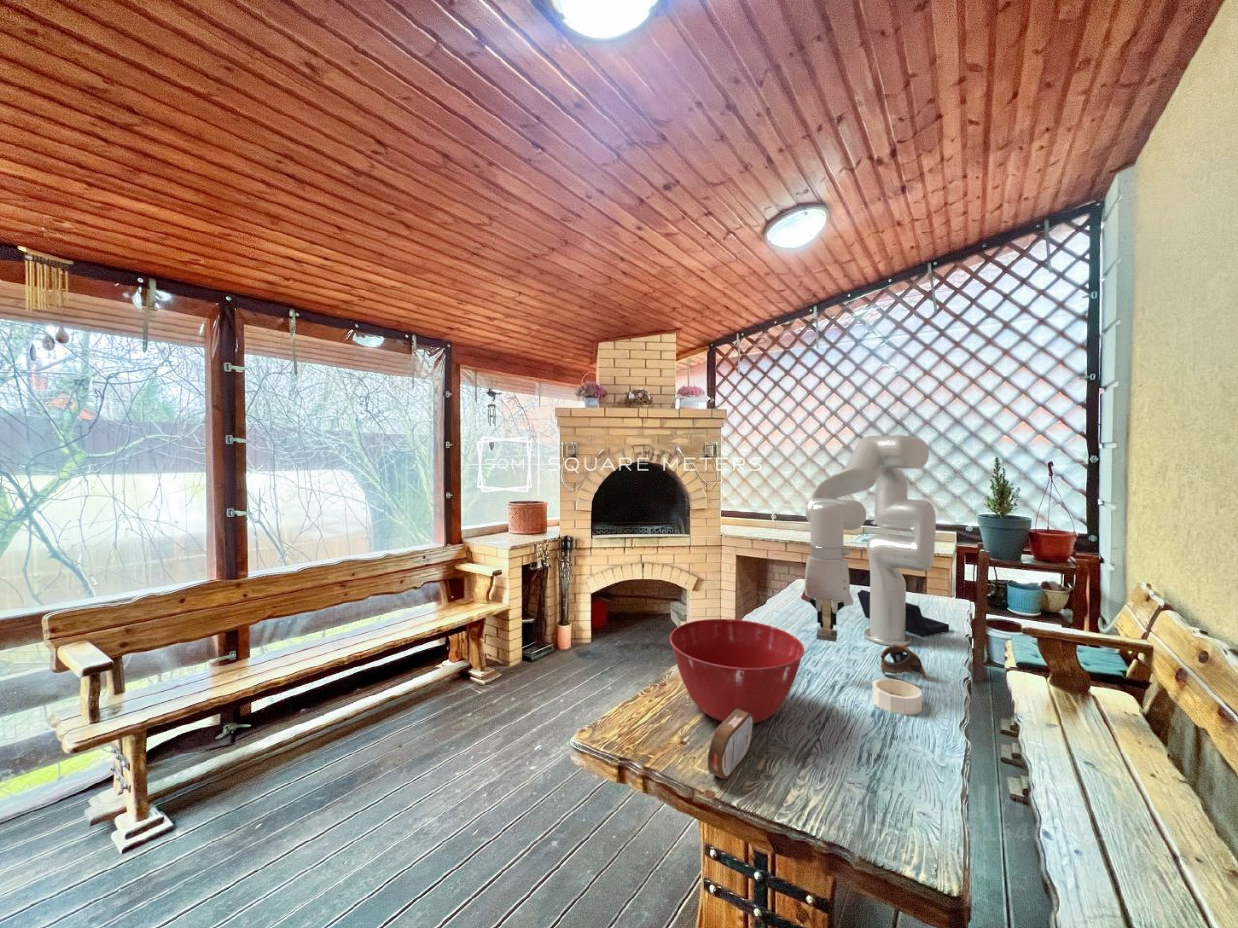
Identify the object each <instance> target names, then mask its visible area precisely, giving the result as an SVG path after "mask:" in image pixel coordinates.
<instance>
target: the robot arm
mask: <svg viewBox="0 0 1238 928" xmlns="http://www.w3.org/2000/svg"><path fill="white" fill-rule="evenodd" d="M929 452H930V451H929V448H928V445H927V443H926V442H925V441H924V440H923V439H921V438H917V437H913V436H910V435H909V436H908V435H905V434H904V435H903V434H902V435H901V434H899V435H898V434H893V435H891V434H889V435H870V436H865V437H863V438H861V439H860V440H859V441H858V442H857V444H856V445H855V448H854V449H853V451H852V453H851V455H850V457H849V459H848V460H847V463H846V464H845V467H844V468H843V469H841V470H840V471H837V472H835V473H833V474H832V475H830V476H828V477H827V478H825V479H824V480H822V481H821V482H819V484H818V485H817V486H816V487H815V488H814V490H813V492H812V494H811V495H810V497H809V499H808V502H807V503H806V506H805V518H806V520H807V522H808V523H809V524H810V545H809V546H810V550H809V551H810V555H807V559H806V565H805V572H804V575H805V576H804V589H803V591H802V594H801V596H800V598H801V600H802V601H805V602H807V603H810V604H811V605H812V607H814V609H815V611H816V613H817V614H816V615H817V616H816V617H817V619H816V620H817V621H816V623H817V624H819V628H822V627H823V621H822V599H828V600H832V608H831V625H830V628H831V629H832V630H834V626H837V614H838V612H839V611H840V610H841V609H844V608H845V607H849V606H853V605H854V600H853V596H852V594H851V592H850V590H851V589H850V586H851V585H850V572H849V571H850V570H849V564H848V559H847V558H846V557H845V556H850V555H851V549H847V548H845V547H844V546H845V545H844V531H845V530H846V531H848V530H849V531H854V530H855V531H856V530H857V529H859V528H861V527H862V526H863V525H864V524H865V522H866V519H867V511H866V508H865V506H864V505H863V504H862V503H861V502H859V501H857V500H853V499H840V498H842V497H845V496H849V495H853V494H854V495H855V494H857V493H861V492H864V491H867V490H870V489H871V488H873V487H874V486H875V498H874V521H875V524H876V526H877V527H879V528H881V529H883V530H884V529H885V530H890V531H900V532H901V531H902V532H911V533H913V535H914V536H908V535H902V534H901V535H900V534H890V533H878V534H874V535H872V536H870V538H869V539H868V541H867V543H866V552H867V558H868V563H869V577H870V579H869V592H870V619H869V628H868V629H865V630H864V632H863V635H864V637H865V638H866V640H869V641H871V642H873V643H876V644H880V645H883V646H888V647H890V646H892V645H895V644H896V645H902V646H905V647H907V646H908V645H911V643H912V637H910V635H908V634H907V633H906V631H905V619H906V603H907V601H906V599H907V597H906V596H907V595H906V594H907V584H906V580H905V577H904V576H903V574H902V572H901V570H900V569H904V570H905V569H906V570H912V571H916V572H917V571H918V572H926V571H929V570H930V569H931V568H932V567H933V565H934V560H935V552H936V551H935V548H936V547H935V545H936V527H937V526H936V525H937V518H936V517H937V516H936V510H935V507H934V506H933V504H932V503H930V502H929V501H928V500H923V499H912V498H911V499H909V497H908V490H909V489H908V487H909V484H908V481H907V479H906V477H905V476H904V474H903V472H902V471H901V470H900V469H906V470H907V469H911V470H914V469H918V470H919V469H922V468H923V467H925V466H926V464H927V463H928V461H929V456H930V453H929Z"/></svg>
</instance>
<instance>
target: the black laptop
mask: <svg viewBox="0 0 1238 928" xmlns="http://www.w3.org/2000/svg"><path fill="white" fill-rule="evenodd" d="M856 595H857V597H858V600H859V603H860V605H861V608H862V611H863V615H864V618H866V619H869V620H870V591H868V590H864V589H861V590H859V591H858V592H857V593H856ZM948 631H949V632H950V624H949V623H945V622H942V621H939V620H935V619H931V618H929V617H926V616H923V614H922V611H921V607H920V606H919V605H916V604H913V603H909V602H906V619H905V632H907V633H910V634H913V635H916V636H919V637H921V638H925V636H927V637H930V636H935V635H939V634H943V633H942V632H944V633H949V632H948ZM938 633H939V634H938ZM934 634H935V635H934Z"/></svg>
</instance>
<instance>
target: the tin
mask: <svg viewBox="0 0 1238 928" xmlns="http://www.w3.org/2000/svg"><path fill="white" fill-rule="evenodd" d="M753 721H754V719H753V716H752V714H750V713H748V712H746V711H743V710H741V709H739V708H738V709H736V710H735V711H734V712H733V713H732V714H731V715H730V716H729V717H728V718H727V719H726V720H725V721H724V722H721V724H719V726H718V727H717V728H716V730H715V732H714V734H713V736H712V738H711V741H710V745H709V748H708V754H707V771H708V773H709V774H710V775H714V776H716V777H719V778H720V779H724V780H726V779H728V778H729V777H730V776H731V775H732V773H733V772H734V771H735V770H736V769H737V767H739V765H740V764H741V763H742V761H743V760H744V759H745V758H746V756H747V755H748V753H749V750H750V747H751V745H752V741H753V731H754V724H753Z"/></svg>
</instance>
